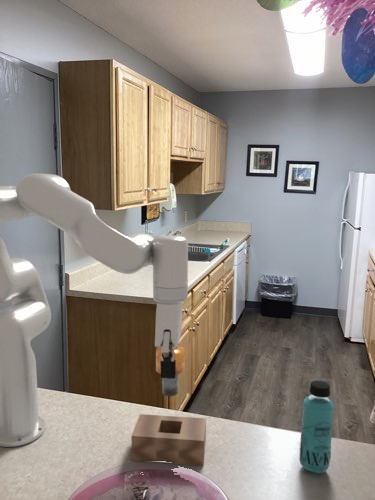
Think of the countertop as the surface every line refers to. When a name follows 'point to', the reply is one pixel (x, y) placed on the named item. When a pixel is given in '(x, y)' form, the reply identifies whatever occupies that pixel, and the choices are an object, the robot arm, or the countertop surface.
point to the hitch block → (169, 439)
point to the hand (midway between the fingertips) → (170, 369)
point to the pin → (172, 384)
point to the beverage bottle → (317, 428)
